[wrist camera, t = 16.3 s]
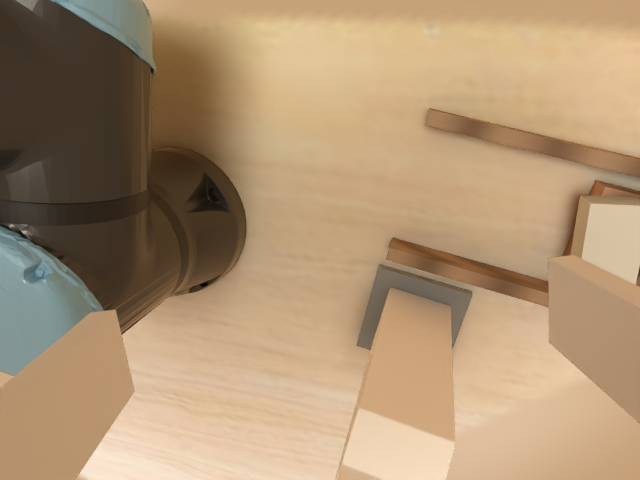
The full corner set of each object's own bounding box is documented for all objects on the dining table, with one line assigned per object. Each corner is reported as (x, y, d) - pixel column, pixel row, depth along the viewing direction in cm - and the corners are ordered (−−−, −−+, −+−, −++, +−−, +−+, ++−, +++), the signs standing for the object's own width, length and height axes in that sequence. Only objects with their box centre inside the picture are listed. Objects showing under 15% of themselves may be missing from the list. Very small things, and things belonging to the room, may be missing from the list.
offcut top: (567, 276, 40) (576, 290, 37) (579, 195, 38) (590, 203, 35) (620, 280, 39) (633, 295, 36) (636, 197, 37) (651, 206, 34)
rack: (389, 249, 46) (383, 267, 41) (429, 108, 41) (428, 111, 36) (606, 311, 43) (625, 339, 38) (676, 167, 38) (708, 178, 33)
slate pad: (357, 341, 50) (356, 345, 49) (379, 264, 46) (378, 267, 46) (443, 369, 48) (443, 373, 47) (471, 291, 45) (472, 294, 44)
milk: (431, 356, 47) (424, 563, 27) (373, 337, 48) (322, 523, 28) (451, 303, 45) (459, 486, 25) (389, 284, 46) (348, 445, 26)
